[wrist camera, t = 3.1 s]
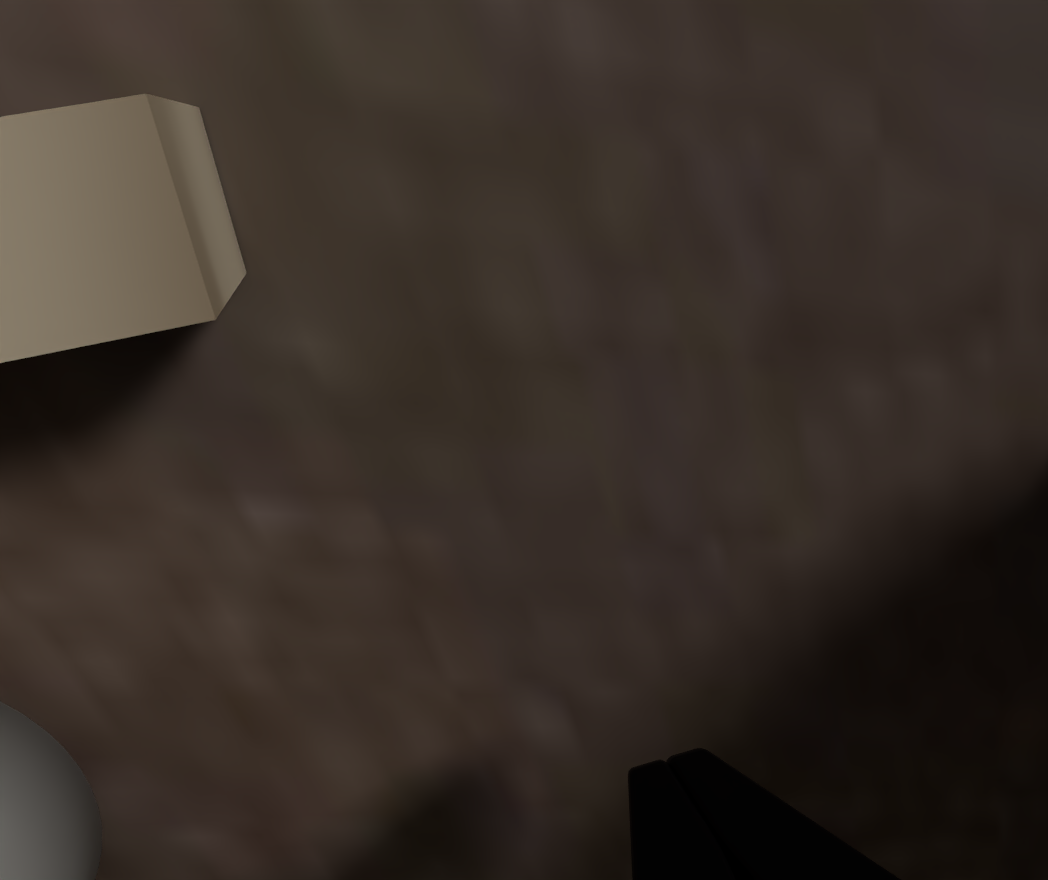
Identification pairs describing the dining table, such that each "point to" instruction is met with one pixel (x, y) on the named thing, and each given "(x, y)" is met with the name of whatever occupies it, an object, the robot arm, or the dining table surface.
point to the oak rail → (109, 225)
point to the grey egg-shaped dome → (44, 807)
